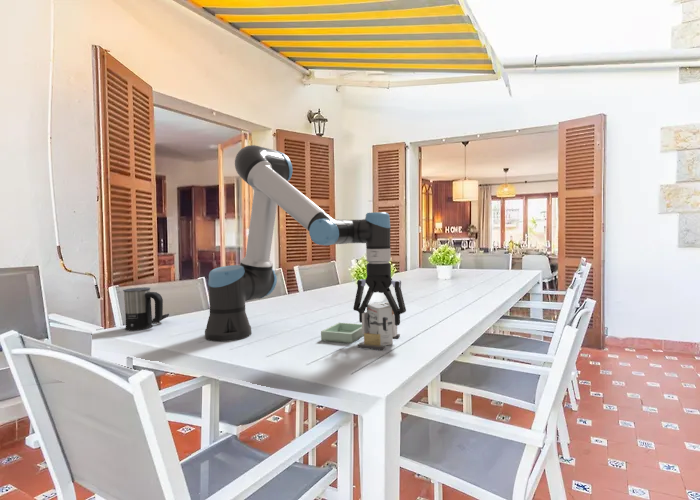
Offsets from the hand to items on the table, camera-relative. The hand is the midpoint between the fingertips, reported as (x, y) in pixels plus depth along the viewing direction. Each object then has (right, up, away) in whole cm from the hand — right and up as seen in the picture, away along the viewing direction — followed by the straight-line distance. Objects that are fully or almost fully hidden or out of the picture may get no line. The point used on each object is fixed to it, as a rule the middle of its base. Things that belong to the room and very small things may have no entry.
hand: (379, 334), depth 133 cm
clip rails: (0, -3, 0) cm, 3 cm away
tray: (-11, -2, +8) cm, 13 cm away
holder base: (0, -3, 0) cm, 3 cm away
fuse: (+4, -2, +9) cm, 10 cm away
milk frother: (-86, -3, +30) cm, 91 cm away
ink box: (0, -3, 0) cm, 3 cm away
